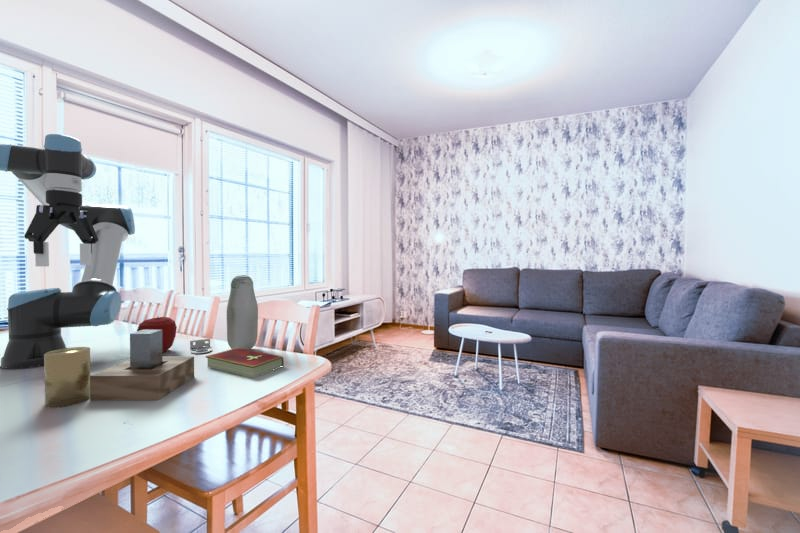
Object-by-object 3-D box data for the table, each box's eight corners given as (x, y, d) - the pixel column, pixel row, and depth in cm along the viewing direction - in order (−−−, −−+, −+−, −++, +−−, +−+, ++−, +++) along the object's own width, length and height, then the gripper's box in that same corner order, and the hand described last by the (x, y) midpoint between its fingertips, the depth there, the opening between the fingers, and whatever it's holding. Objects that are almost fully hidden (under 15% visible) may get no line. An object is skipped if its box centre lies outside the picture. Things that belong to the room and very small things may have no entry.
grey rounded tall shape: (235, 347, 133) (235, 274, 132) (261, 347, 133) (262, 274, 132) (221, 354, 123) (221, 275, 122) (249, 355, 123) (250, 276, 122)
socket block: (137, 376, 100) (137, 356, 100) (194, 376, 101) (194, 356, 100) (90, 400, 84) (89, 375, 84) (158, 400, 85) (158, 375, 85)
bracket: (192, 356, 121) (192, 346, 121) (190, 349, 130) (190, 340, 130) (213, 353, 125) (213, 344, 125) (209, 347, 133) (210, 338, 133)
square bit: (143, 380, 95) (143, 329, 94) (162, 380, 95) (162, 329, 94) (130, 387, 90) (129, 333, 89) (150, 387, 90) (149, 333, 89)
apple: (157, 347, 131) (156, 312, 131) (185, 348, 130) (184, 313, 129) (128, 356, 119) (127, 317, 119) (158, 358, 118) (158, 319, 117)
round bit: (66, 393, 88) (65, 346, 87) (99, 393, 88) (98, 346, 87) (34, 407, 80) (33, 356, 79) (71, 407, 80) (70, 356, 80)
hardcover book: (238, 358, 120) (238, 346, 120) (283, 368, 111) (283, 355, 111) (205, 368, 109) (205, 355, 109) (252, 380, 100) (252, 365, 100)
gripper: (34, 182, 87) (35, 267, 88) (111, 198, 112) (112, 264, 112) (2, 181, 86) (4, 266, 87) (87, 198, 111) (88, 264, 112)
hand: (65, 265), depth 100 cm, fingers open, 13 cm apart
